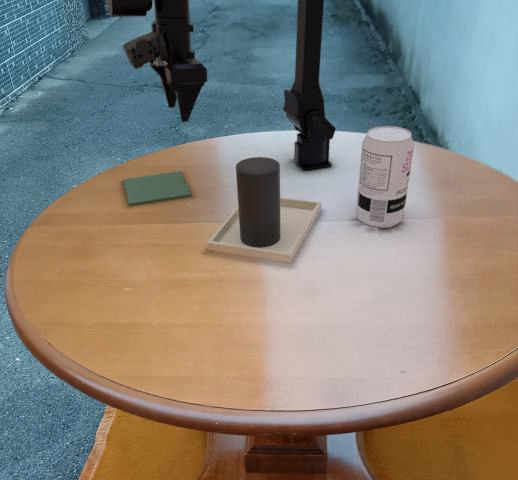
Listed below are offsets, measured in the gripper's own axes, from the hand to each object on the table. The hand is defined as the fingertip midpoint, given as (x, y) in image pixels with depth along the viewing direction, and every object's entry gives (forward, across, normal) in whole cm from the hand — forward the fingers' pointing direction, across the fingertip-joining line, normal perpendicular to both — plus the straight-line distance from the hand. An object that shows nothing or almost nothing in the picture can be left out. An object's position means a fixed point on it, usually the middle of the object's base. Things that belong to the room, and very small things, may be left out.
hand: (178, 114), depth 99 cm
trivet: (+15, -2, -5) cm, 16 cm away
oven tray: (+14, +24, +9) cm, 29 cm away
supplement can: (+12, +28, +28) cm, 42 cm away
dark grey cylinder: (+13, +26, +6) cm, 30 cm away
